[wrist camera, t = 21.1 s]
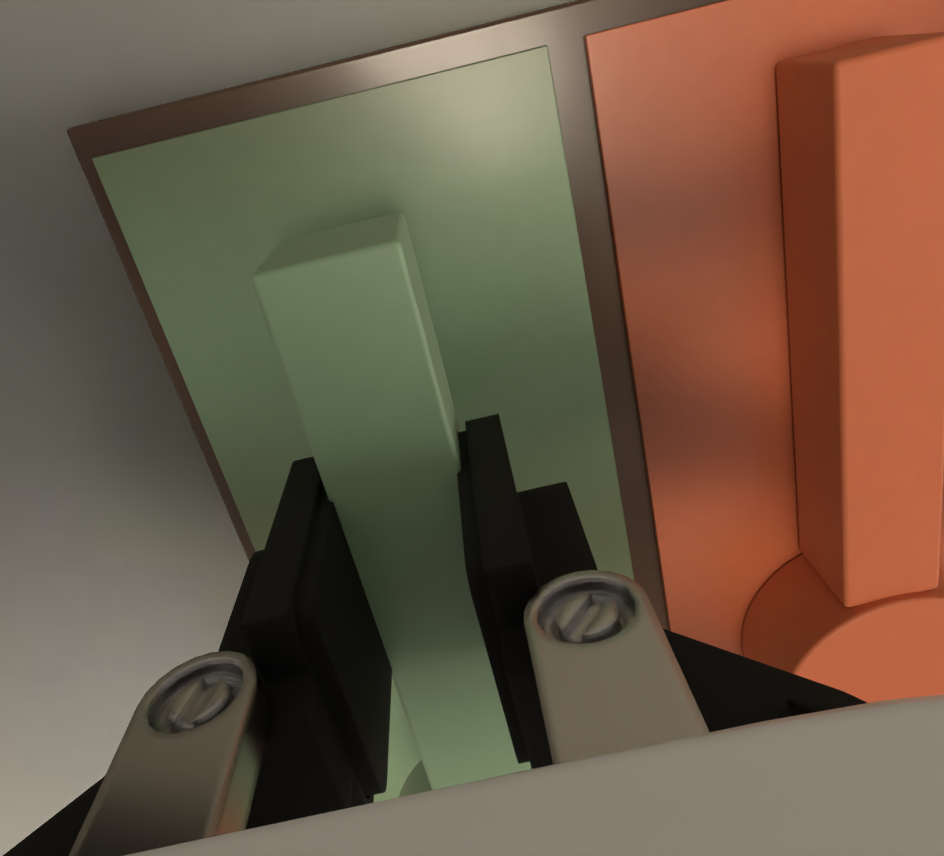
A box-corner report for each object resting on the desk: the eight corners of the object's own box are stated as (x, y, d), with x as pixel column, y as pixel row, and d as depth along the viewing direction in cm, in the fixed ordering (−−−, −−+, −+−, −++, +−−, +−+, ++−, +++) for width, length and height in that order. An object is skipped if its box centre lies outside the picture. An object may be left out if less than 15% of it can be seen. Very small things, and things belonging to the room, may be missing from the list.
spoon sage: (179, 265, 11) (124, 308, 9) (503, 185, 11) (522, 212, 9) (428, 898, 17) (429, 1012, 15) (638, 855, 16) (668, 964, 14)
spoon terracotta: (687, 83, 12) (739, 87, 10) (973, 13, 12) (1081, 2, 10) (747, 717, 18) (788, 796, 16) (940, 675, 18) (1004, 749, 16)
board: (78, 126, 13) (58, 129, 12) (1047, -117, 12) (1087, -128, 12) (375, 837, 20) (373, 866, 20) (978, 708, 20) (999, 732, 19)
